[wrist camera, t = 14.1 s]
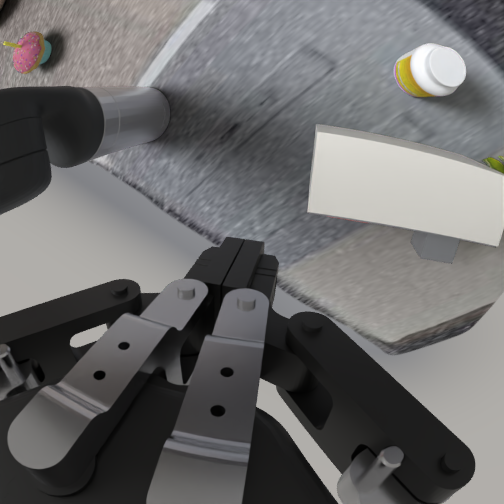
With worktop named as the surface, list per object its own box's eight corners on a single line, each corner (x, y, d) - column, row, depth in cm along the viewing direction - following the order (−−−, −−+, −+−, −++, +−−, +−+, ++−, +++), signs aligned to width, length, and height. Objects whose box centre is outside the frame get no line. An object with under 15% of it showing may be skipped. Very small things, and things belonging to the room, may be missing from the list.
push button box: (309, 179, 45) (307, 214, 31) (316, 123, 42) (317, 131, 28) (450, 205, 42) (497, 248, 28) (461, 154, 38) (516, 180, 24)
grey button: (410, 242, 41) (420, 258, 36) (420, 202, 38) (432, 214, 34) (440, 247, 40) (452, 263, 36) (451, 208, 37) (465, 221, 33)
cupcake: (34, 36, 40) (-9, 35, 30) (61, 29, 40) (16, 25, 29) (29, 74, 44) (-15, 78, 34) (55, 70, 43) (9, 73, 33)
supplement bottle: (414, 106, 37) (449, 108, 26) (383, 71, 36) (408, 60, 25) (442, 80, 34) (483, 74, 23) (412, 45, 33) (444, 27, 22)
